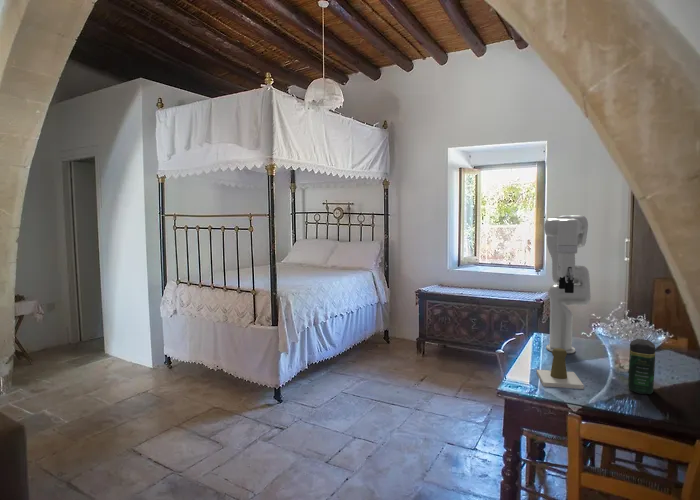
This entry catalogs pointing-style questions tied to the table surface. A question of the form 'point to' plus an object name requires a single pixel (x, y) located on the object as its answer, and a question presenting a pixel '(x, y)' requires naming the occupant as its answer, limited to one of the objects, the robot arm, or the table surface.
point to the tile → (559, 380)
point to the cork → (559, 364)
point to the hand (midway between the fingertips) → (566, 290)
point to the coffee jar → (641, 366)
